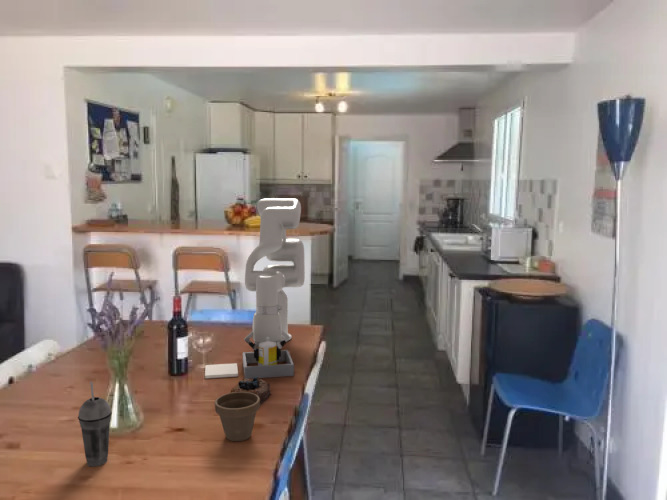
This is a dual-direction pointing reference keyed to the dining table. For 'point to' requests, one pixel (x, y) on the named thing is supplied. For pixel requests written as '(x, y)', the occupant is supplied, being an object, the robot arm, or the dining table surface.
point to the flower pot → (237, 414)
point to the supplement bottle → (267, 353)
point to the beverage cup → (95, 429)
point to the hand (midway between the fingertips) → (267, 358)
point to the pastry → (254, 388)
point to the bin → (268, 366)
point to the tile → (221, 370)
